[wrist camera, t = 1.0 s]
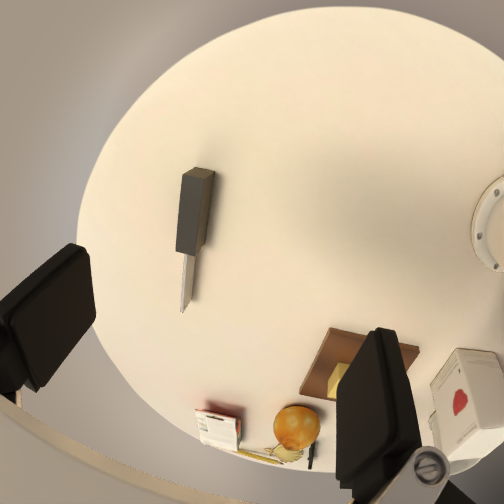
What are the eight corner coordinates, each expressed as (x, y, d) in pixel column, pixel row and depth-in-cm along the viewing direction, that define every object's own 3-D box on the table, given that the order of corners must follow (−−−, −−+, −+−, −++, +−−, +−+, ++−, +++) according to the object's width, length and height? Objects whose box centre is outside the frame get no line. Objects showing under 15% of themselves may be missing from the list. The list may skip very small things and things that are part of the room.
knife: (194, 167, 33) (182, 174, 30) (215, 171, 33) (204, 179, 30) (182, 296, 42) (172, 311, 39) (198, 301, 42) (189, 316, 39)
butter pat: (338, 362, 41) (338, 379, 38) (351, 364, 41) (352, 381, 38) (327, 380, 43) (327, 397, 40) (340, 383, 43) (340, 399, 40)
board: (329, 327, 40) (329, 333, 39) (418, 346, 39) (420, 352, 37) (299, 388, 47) (298, 394, 45) (377, 402, 45) (377, 408, 44)
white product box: (455, 346, 37) (481, 428, 24) (494, 351, 36) (523, 424, 23) (428, 385, 42) (442, 462, 29) (467, 387, 41) (485, 458, 28)
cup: (414, 418, 46) (420, 473, 35) (451, 392, 41) (464, 449, 31) (443, 429, 47) (451, 478, 36) (478, 406, 42) (490, 455, 32)
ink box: (206, 431, 60) (199, 394, 53) (241, 439, 58) (241, 403, 51) (200, 444, 56) (193, 409, 50) (237, 453, 55) (236, 420, 48)
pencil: (285, 461, 58) (284, 463, 58) (225, 444, 61) (225, 446, 61) (284, 464, 57) (283, 466, 57) (224, 446, 60) (223, 449, 60)
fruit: (258, 416, 49) (270, 457, 43) (294, 398, 45) (309, 442, 40) (287, 415, 54) (299, 452, 48) (320, 398, 51) (335, 437, 45)
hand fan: (264, 464, 60) (266, 458, 61) (301, 470, 57) (302, 463, 59) (260, 441, 54) (263, 434, 56) (303, 448, 52) (305, 441, 53)
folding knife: (313, 459, 58) (311, 470, 55) (307, 459, 58) (306, 470, 55) (316, 440, 53) (315, 452, 51) (309, 440, 54) (308, 452, 51)
